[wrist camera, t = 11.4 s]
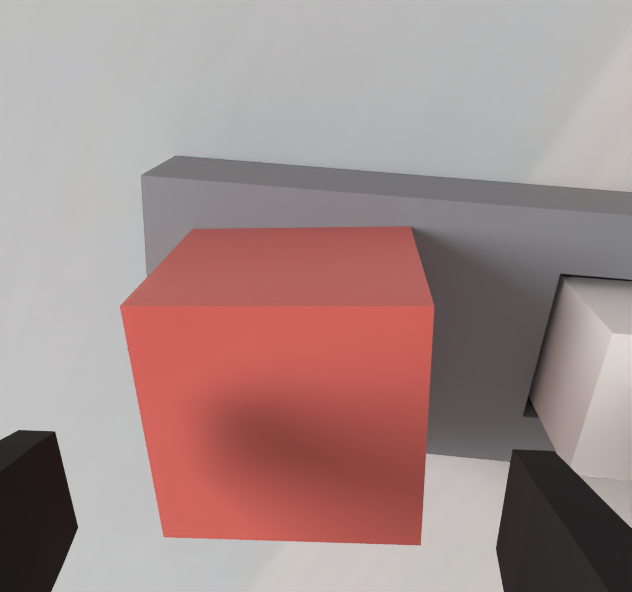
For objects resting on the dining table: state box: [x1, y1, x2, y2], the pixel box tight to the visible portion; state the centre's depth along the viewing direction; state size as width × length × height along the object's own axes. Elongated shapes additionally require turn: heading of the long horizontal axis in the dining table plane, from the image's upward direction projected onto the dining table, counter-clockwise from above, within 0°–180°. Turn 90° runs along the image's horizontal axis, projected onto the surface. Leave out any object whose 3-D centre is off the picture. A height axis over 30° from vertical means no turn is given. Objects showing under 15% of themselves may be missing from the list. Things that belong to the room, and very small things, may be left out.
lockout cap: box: [120, 226, 434, 545], centre depth 14 cm, size 6×6×5 cm
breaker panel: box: [141, 156, 632, 462], centre depth 17 cm, size 18×8×3 cm, turn 86°
